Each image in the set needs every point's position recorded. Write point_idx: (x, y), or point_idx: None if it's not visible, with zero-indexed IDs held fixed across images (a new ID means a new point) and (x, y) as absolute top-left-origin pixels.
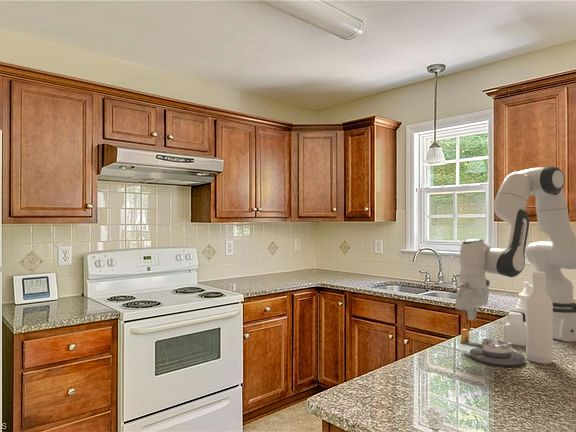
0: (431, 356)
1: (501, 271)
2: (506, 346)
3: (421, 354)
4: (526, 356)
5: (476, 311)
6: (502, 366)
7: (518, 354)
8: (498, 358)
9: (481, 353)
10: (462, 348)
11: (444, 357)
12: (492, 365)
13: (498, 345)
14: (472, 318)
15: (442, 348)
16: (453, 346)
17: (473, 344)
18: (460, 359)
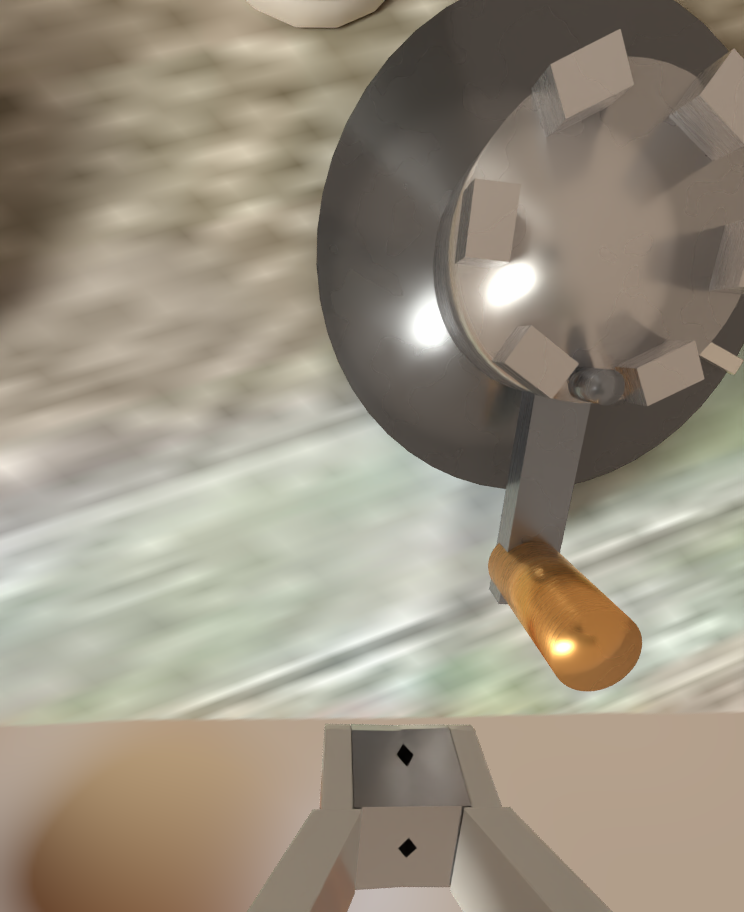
0: (729, 639)
1: None
2: (741, 77)
3: (719, 694)
4: (341, 14)
5: (302, 898)
6: None
7: (416, 75)
8: None
9: None
10: (412, 577)
11: (709, 576)
12: None
13: (626, 219)
14: (478, 748)
15: (508, 669)
16: (405, 641)
17: (569, 484)
18: (698, 483)
